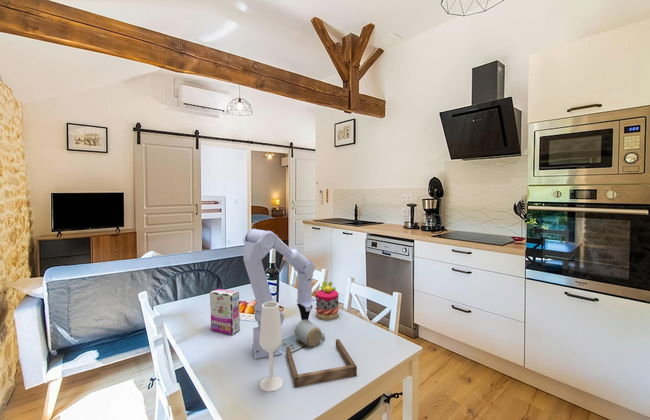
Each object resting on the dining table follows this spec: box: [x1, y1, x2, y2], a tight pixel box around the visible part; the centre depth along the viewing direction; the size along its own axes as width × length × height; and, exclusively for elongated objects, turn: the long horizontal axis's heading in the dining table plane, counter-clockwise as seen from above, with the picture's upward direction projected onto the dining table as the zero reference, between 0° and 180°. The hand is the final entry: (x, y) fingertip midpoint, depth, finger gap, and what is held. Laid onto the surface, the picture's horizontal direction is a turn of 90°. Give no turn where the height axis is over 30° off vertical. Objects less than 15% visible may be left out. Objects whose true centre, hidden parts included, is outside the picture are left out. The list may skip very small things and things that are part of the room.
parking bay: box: [285, 338, 358, 388], centre depth 94 cm, size 19×17×3 cm
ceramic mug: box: [294, 319, 326, 348], centre depth 109 cm, size 11×8×8 cm
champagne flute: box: [259, 301, 284, 392], centre depth 84 cm, size 7×7×24 cm
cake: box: [315, 281, 340, 321], centre depth 131 cm, size 10×11×15 cm
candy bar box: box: [209, 288, 241, 336], centre depth 117 cm, size 11×5×16 cm, turn 68°
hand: (304, 321), depth 116 cm, fingers closed
